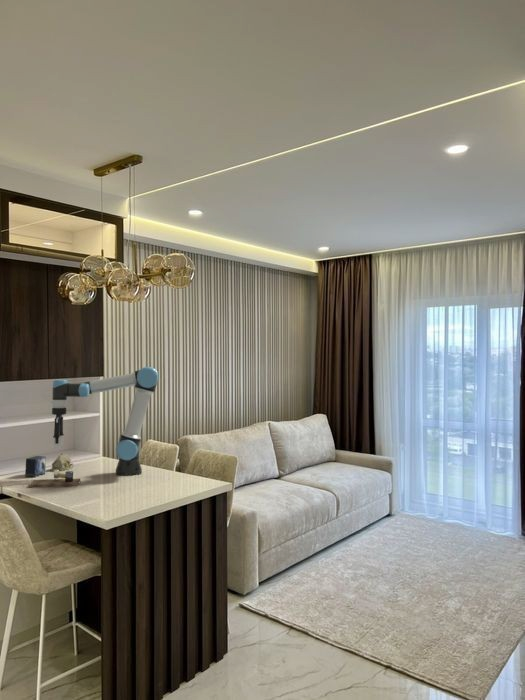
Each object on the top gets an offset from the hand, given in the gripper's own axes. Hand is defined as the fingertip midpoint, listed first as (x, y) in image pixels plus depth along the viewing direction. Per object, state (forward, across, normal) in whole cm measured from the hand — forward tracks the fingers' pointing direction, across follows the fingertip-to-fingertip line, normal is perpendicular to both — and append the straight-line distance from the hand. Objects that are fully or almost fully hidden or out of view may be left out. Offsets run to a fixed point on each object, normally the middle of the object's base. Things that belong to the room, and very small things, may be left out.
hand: (58, 448), depth 299 cm
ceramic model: (+17, -30, -2) cm, 35 cm away
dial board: (+17, +14, +1) cm, 22 cm away
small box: (+17, -12, -14) cm, 25 cm away
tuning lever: (+15, +12, +5) cm, 20 cm away
